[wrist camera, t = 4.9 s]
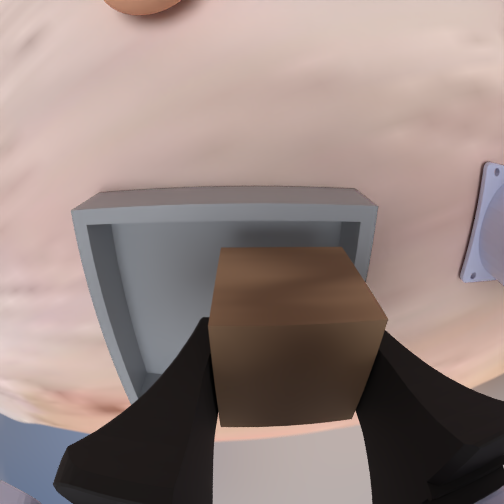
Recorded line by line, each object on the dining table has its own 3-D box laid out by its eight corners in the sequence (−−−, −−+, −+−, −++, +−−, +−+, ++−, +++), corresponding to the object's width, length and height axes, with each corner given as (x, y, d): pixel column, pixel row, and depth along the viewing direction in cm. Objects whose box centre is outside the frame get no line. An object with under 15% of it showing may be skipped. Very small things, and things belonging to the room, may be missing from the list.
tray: (354, 188, 14) (377, 206, 12) (324, 374, 20) (332, 407, 17) (99, 192, 14) (70, 210, 11) (141, 373, 20) (131, 404, 17)
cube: (341, 246, 11) (388, 319, 7) (326, 338, 13) (351, 418, 9) (221, 247, 11) (207, 325, 7) (226, 341, 13) (220, 426, 9)
